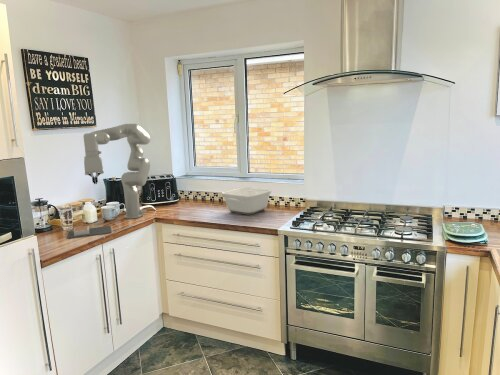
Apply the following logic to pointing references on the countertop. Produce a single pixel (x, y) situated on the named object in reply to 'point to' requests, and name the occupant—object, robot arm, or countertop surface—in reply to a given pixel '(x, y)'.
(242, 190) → the white plastic tub
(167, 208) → the countertop surface
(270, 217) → the countertop surface
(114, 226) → the countertop surface
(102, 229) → the mat
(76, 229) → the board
